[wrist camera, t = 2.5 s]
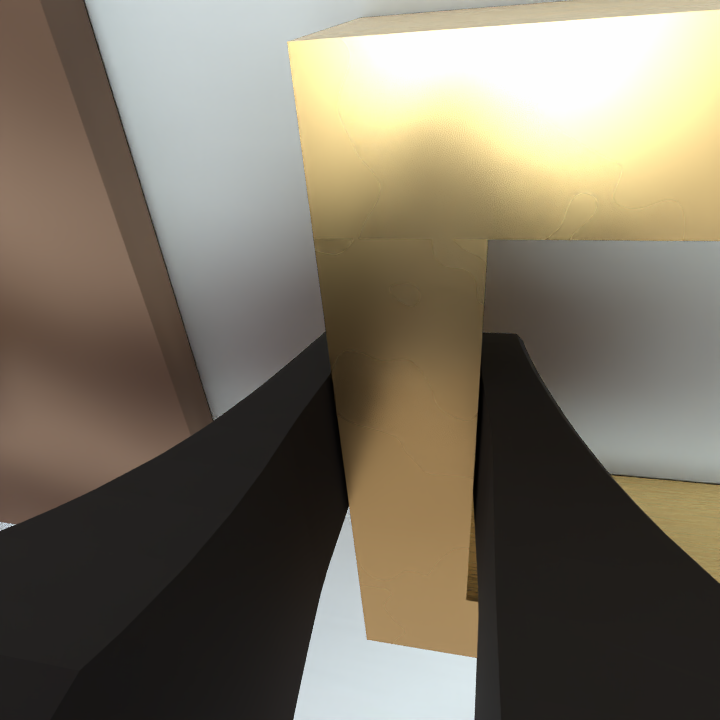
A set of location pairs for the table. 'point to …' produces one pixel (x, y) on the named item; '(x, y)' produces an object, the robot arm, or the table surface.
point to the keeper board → (78, 278)
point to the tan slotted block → (483, 245)
